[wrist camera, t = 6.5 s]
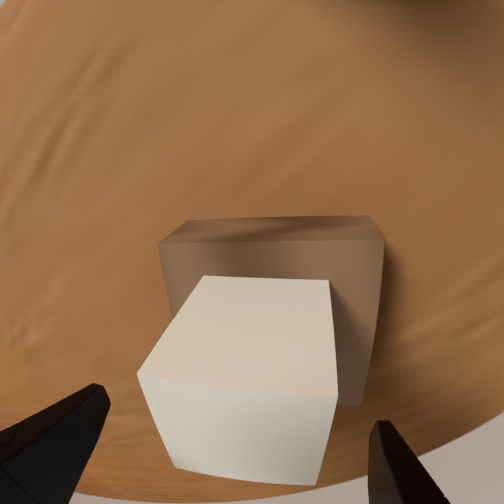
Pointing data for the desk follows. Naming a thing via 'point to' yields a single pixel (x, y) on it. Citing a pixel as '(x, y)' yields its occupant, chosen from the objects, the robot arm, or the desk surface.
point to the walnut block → (292, 272)
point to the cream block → (247, 379)
